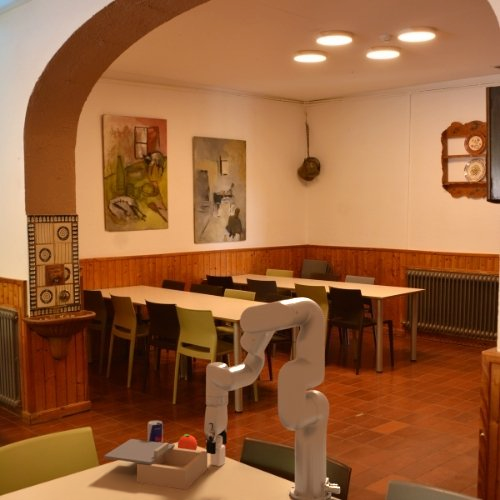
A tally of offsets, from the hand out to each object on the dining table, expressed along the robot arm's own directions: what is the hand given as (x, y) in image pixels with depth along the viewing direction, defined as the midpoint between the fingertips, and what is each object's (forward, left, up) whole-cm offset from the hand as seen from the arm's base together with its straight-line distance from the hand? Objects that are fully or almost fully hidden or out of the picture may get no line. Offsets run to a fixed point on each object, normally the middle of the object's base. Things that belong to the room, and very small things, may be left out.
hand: (216, 448), depth 224 cm
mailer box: (+9, +14, -5) cm, 18 cm away
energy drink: (+23, 0, -6) cm, 24 cm away
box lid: (+22, +14, +1) cm, 26 cm away
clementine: (+13, -5, -6) cm, 15 cm away
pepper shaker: (-1, 0, -6) cm, 6 cm away
